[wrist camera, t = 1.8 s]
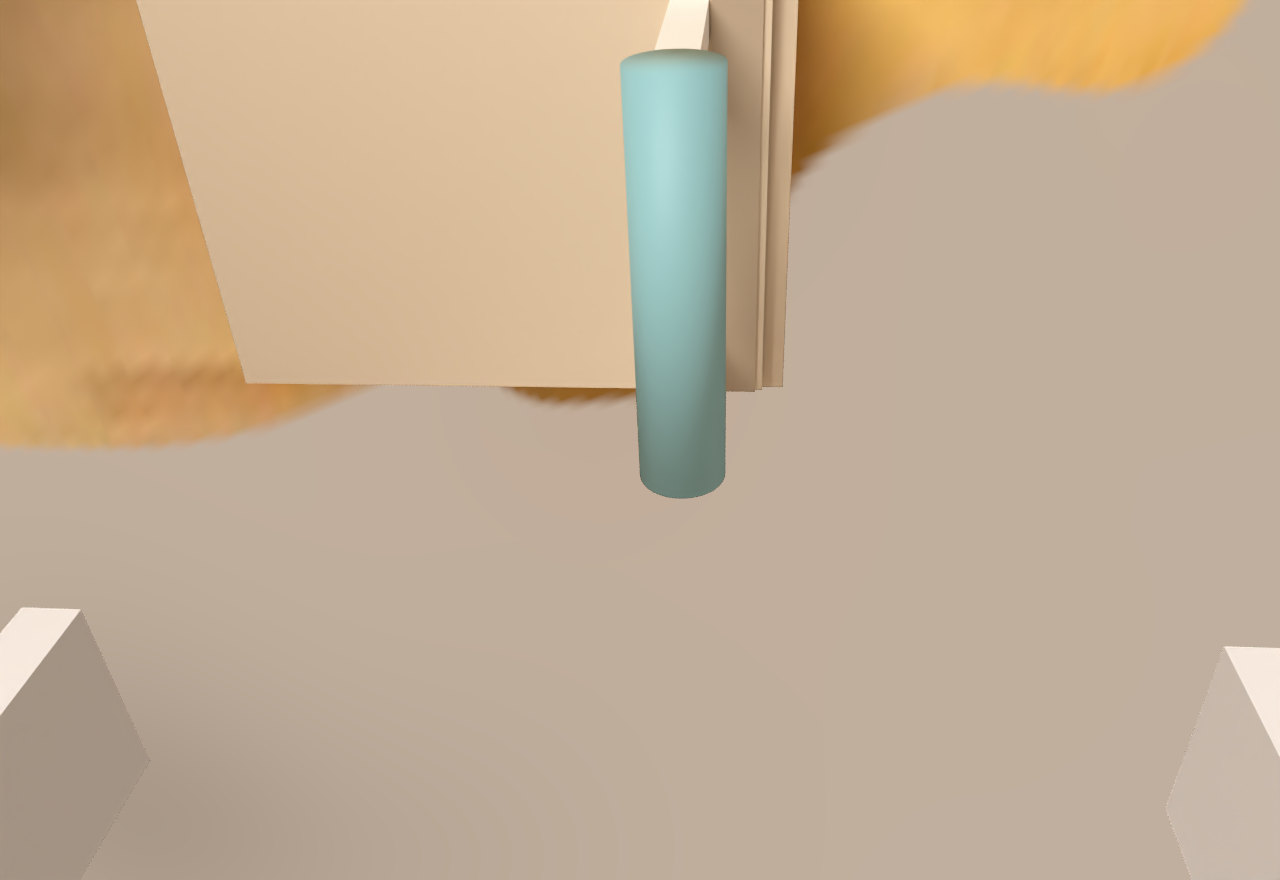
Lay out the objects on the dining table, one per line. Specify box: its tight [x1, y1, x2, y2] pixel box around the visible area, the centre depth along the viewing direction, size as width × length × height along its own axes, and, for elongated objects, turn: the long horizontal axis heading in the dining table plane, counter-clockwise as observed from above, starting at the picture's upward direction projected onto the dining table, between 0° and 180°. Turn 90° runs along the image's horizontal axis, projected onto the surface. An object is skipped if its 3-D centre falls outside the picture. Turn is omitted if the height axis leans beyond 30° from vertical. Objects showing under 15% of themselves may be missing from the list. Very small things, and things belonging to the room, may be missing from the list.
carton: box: [762, 0, 798, 387], centre depth 33 cm, size 16×12×13 cm
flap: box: [136, 0, 773, 498], centre depth 25 cm, size 15×12×7 cm
